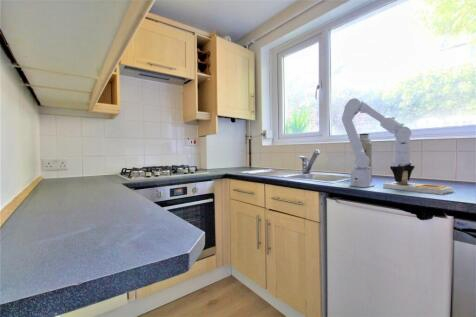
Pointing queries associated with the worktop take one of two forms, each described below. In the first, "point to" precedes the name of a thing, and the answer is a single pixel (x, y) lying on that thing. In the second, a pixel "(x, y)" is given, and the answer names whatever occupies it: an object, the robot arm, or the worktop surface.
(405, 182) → the peg
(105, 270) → the worktop surface
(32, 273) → the worktop surface
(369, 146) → the thermos bottle
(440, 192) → the rail plate
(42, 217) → the worktop surface
